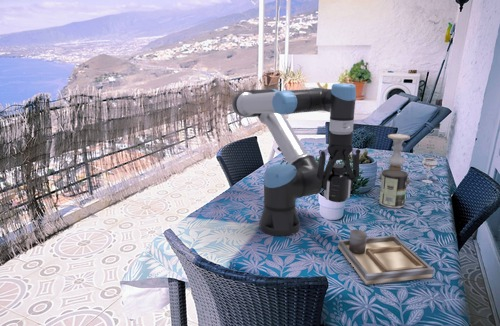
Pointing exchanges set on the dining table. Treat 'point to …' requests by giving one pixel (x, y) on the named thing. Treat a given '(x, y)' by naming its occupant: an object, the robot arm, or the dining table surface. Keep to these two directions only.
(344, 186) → the supplement bottle
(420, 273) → the board
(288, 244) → the dining table surface
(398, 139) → the candle holder
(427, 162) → the wineglass
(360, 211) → the dining table surface
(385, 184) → the coffee can
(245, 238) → the dining table surface
